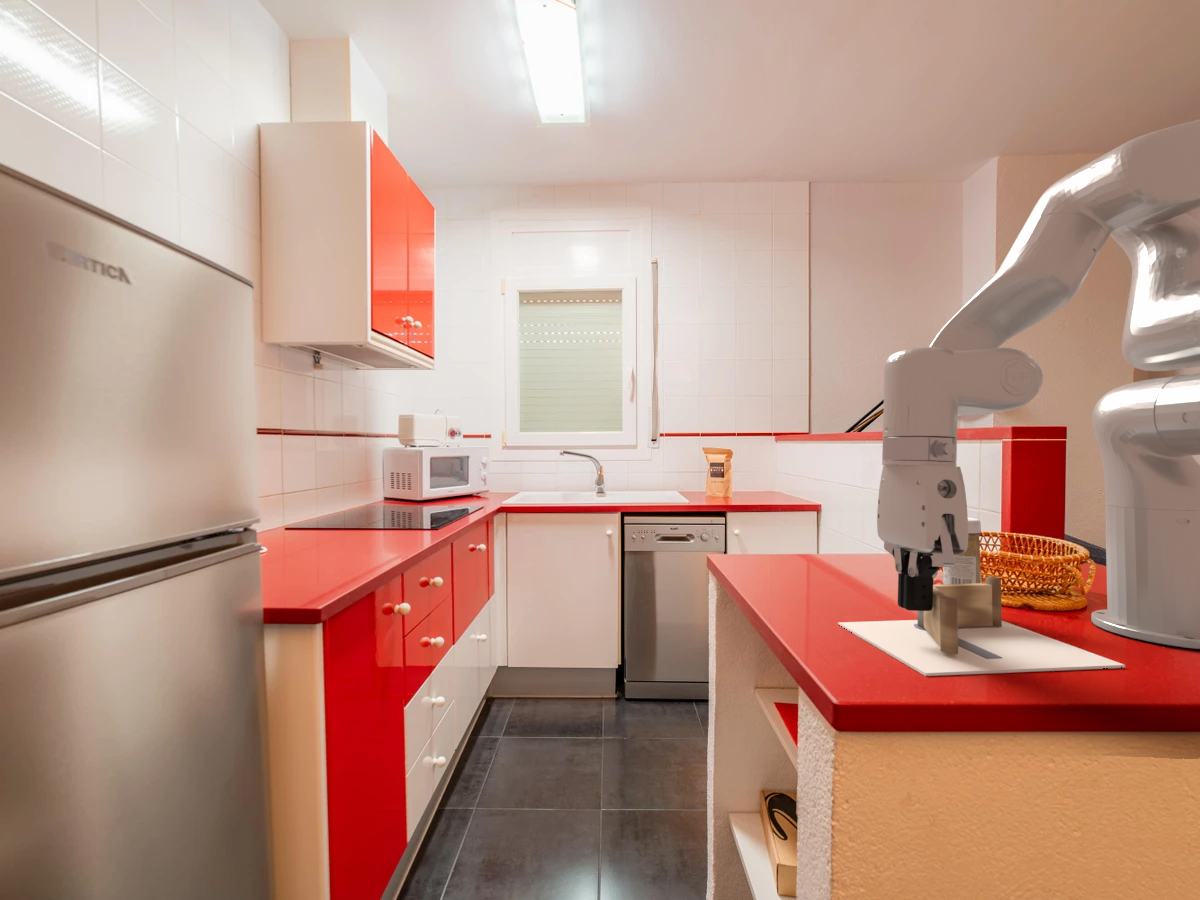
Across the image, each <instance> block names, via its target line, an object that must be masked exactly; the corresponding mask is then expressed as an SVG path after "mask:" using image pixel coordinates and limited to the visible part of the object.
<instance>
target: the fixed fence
mask: <svg viewBox="0 0 1200 900" xmlns="http://www.w3.org/2000/svg"><path fill="white" fill-rule="evenodd" d="M984 580H985V583H983V582H981V583H973V584H943V583H941V584H939V583H938V584H935V583H934V578H933V585H934V586H935V587H936V588H937V589H938V590H940V591H941V592H942V593H943V594H944V595H945V596H947V597H953V598H956V599H957V614H958V627H975V626H998V627H1002V621H1003V620H1002V615H1003V614H1002V609H1003V608H1002V578H1001V577H998V576H991V575H989V576H985V579H984ZM916 612H917V619H916V620H918V627H921V628H924V611H916Z"/></svg>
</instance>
